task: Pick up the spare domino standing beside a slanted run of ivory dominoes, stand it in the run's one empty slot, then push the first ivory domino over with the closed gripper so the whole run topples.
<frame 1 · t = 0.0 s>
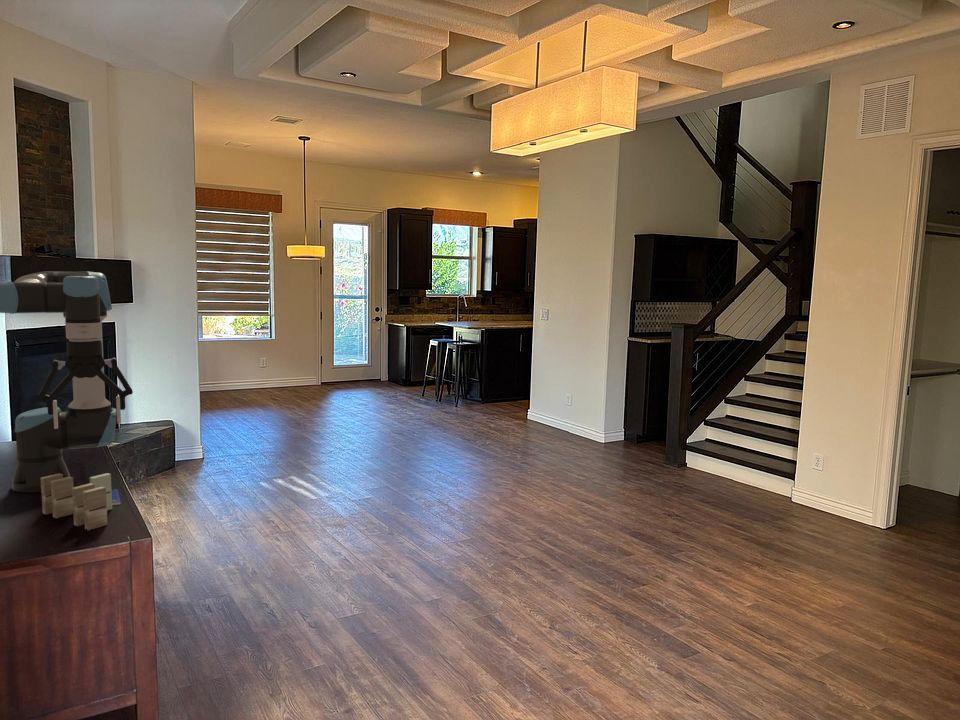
hand: (88, 425, 174), 28 cm above the table, tool pointing down, fingers open, 13 cm apart
spare domino: (101, 510, 193), on the table
domino 4: (85, 522, 184), on the table
domino 2: (64, 515, 190), on the table
hard drive: (103, 502, 202), on the table
domino 5: (96, 526, 182), on the table
domino 1: (53, 511, 192), on the table
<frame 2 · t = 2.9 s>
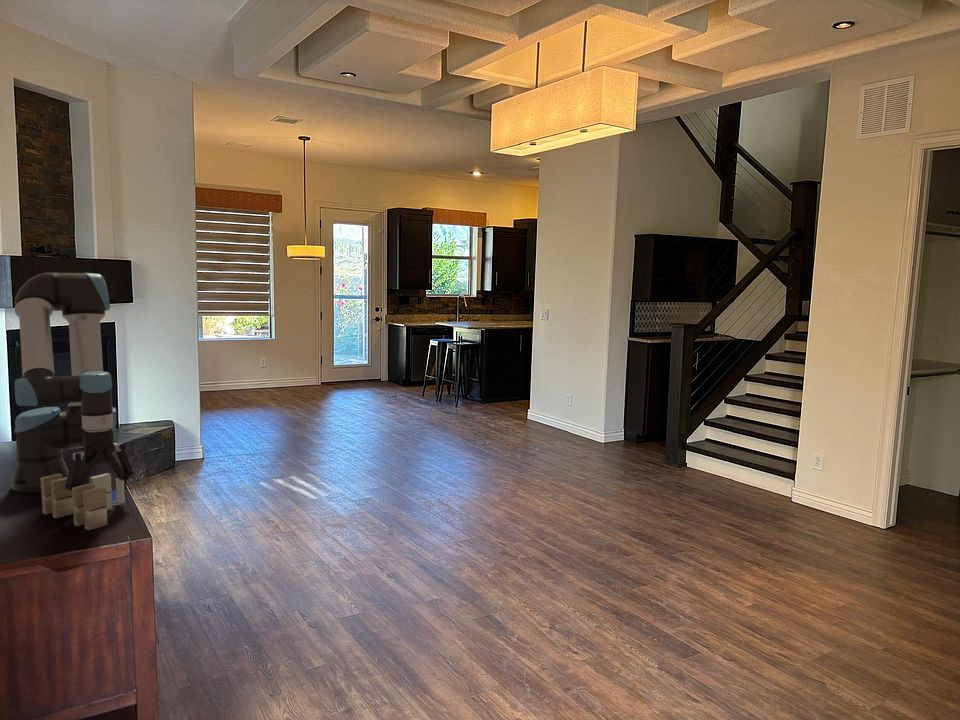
hand: (101, 507, 193), 1 cm above the table, tool pointing down, fingers open, 10 cm apart
hard drive: (103, 503, 202), on the table, touching gripper
everything else where it was.
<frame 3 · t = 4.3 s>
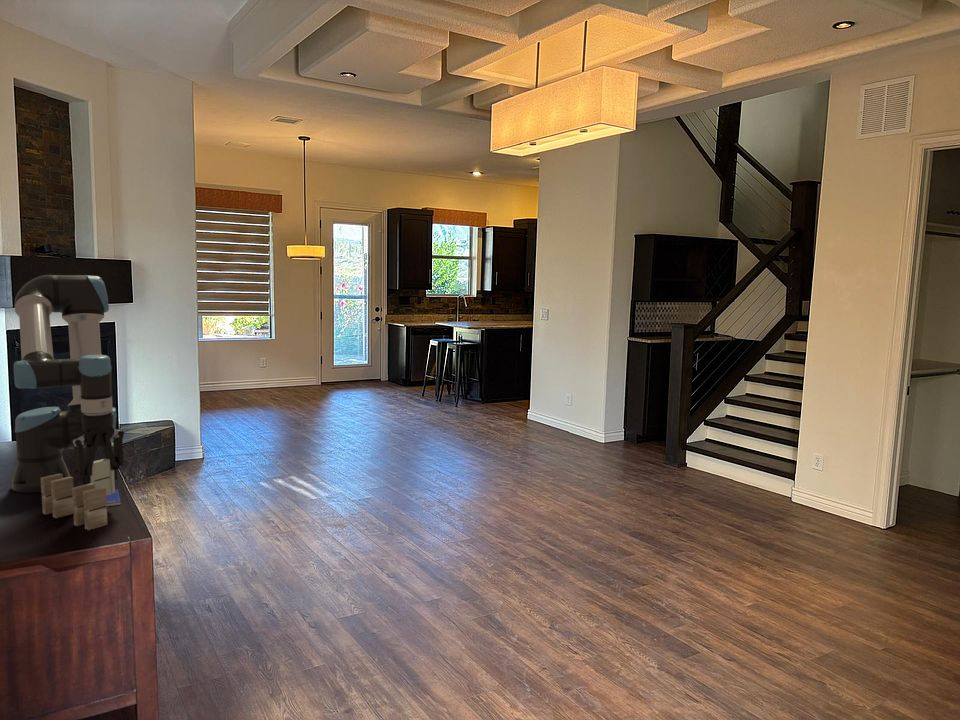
hand: (101, 494, 193), 4 cm above the table, tool pointing down, fingers closed on spare domino, 5 cm apart
spare domino: (100, 496, 193), point 4 cm above the table, touching gripper
hard drive: (103, 502, 202), on the table
everything else where it was.
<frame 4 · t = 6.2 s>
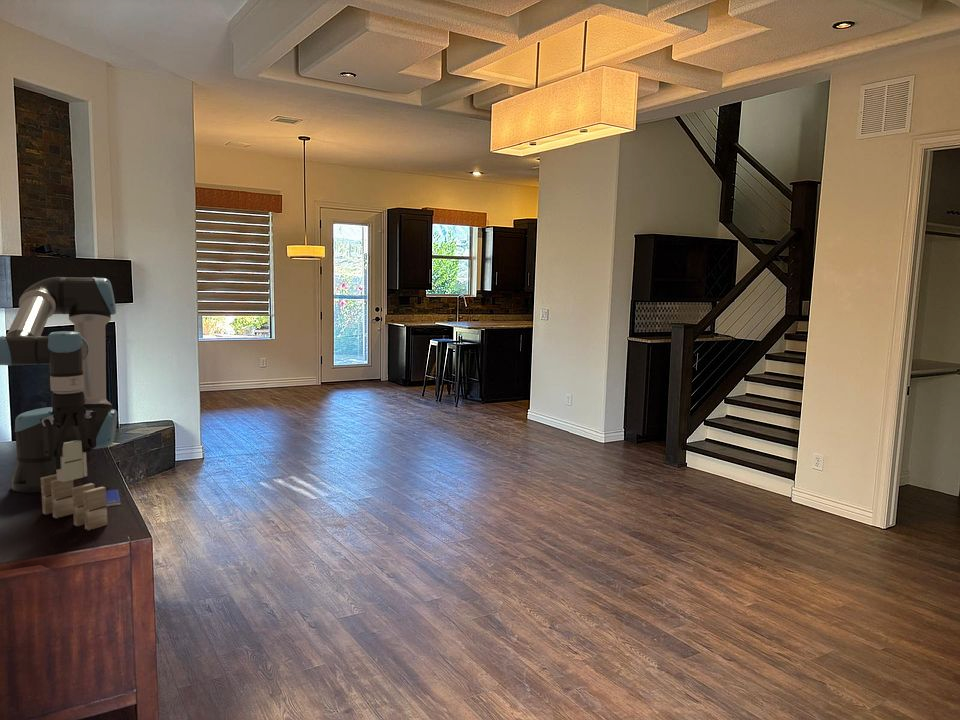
hand: (72, 477, 185), 11 cm above the table, tool pointing down, fingers closed on spare domino, 5 cm apart
spare domino: (72, 479, 185), point 11 cm above the table, touching gripper
everything else where it was.
when the fingers open (1 cm above the table, at t = 8.2 s): spare domino stays where it is, on the table.
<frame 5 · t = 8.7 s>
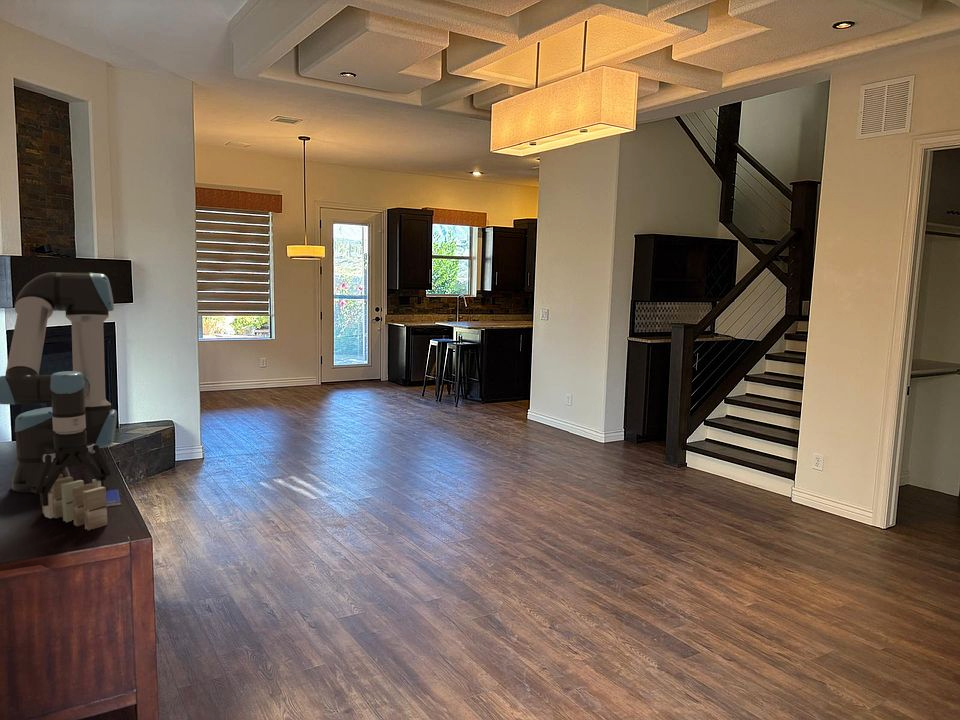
hand: (74, 510, 187), 2 cm above the table, tool pointing down, fingers open, 12 cm apart
spare domino: (74, 518, 187), on the table
everything else where it was.
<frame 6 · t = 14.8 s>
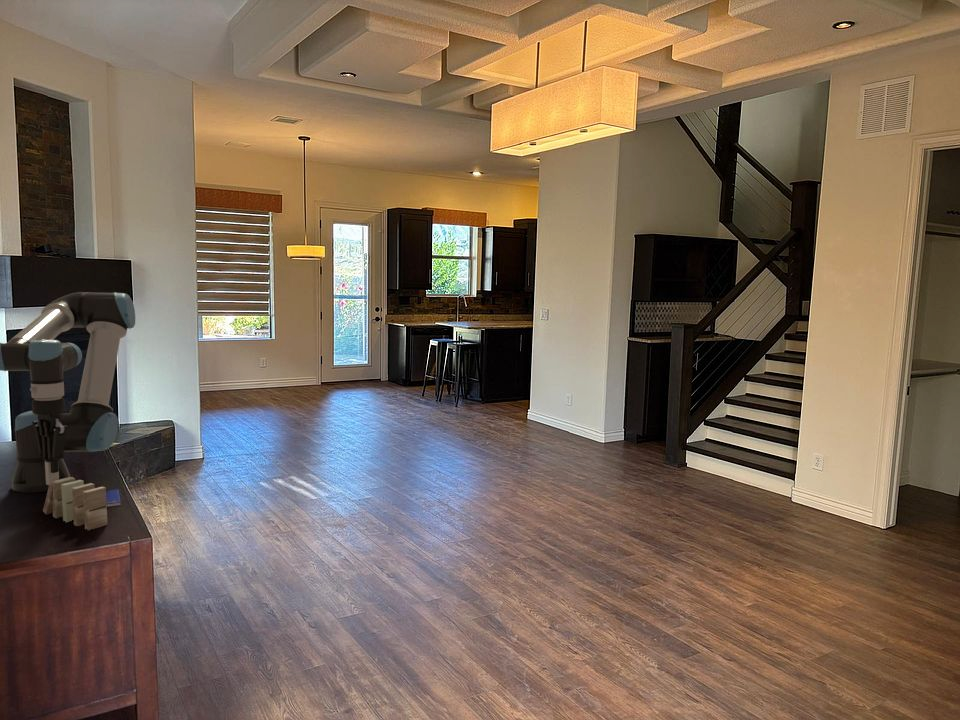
hand: (52, 483, 191), 8 cm above the table, tool pointing down, fingers closed
domino 2: (64, 514, 190), on the table, tilted 6°
domino 1: (53, 510, 192), on the table, tilted 26°
everything else where it was.
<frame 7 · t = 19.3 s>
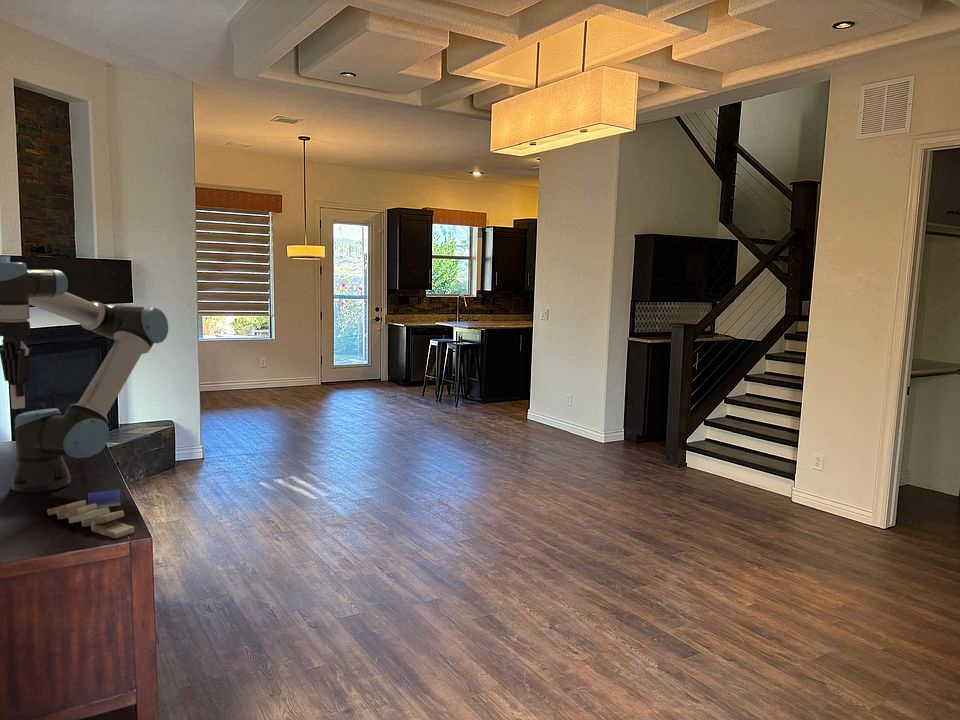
hand: (18, 407, 189), 28 cm above the table, tool pointing down, fingers closed
spare domino: (78, 517, 186), point 1 cm above the table, tilted 71°, touching domino 2, domino 4
domino 4: (90, 521, 184), point 1 cm above the table, tilted 72°, touching domino 5, spare domino
domino 2: (66, 513, 188), point 1 cm above the table, tilted 71°, touching domino 1, spare domino
domino 5: (100, 525, 181), point 1 cm above the table, tilted 89°, touching domino 4
domino 1: (57, 509, 191), point 1 cm above the table, tilted 71°, touching domino 2
everything else where it was.
at the end: domino 5 tilted 89°; spare domino tilted 71° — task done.
